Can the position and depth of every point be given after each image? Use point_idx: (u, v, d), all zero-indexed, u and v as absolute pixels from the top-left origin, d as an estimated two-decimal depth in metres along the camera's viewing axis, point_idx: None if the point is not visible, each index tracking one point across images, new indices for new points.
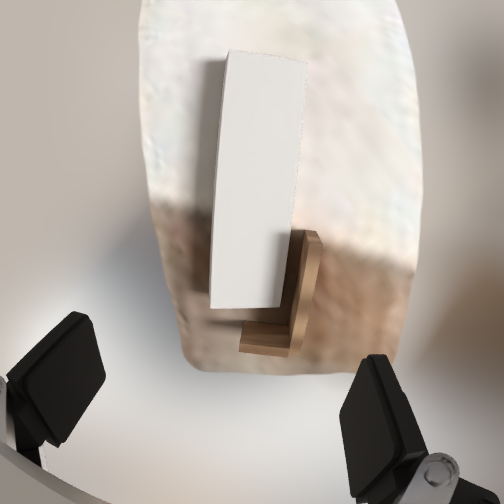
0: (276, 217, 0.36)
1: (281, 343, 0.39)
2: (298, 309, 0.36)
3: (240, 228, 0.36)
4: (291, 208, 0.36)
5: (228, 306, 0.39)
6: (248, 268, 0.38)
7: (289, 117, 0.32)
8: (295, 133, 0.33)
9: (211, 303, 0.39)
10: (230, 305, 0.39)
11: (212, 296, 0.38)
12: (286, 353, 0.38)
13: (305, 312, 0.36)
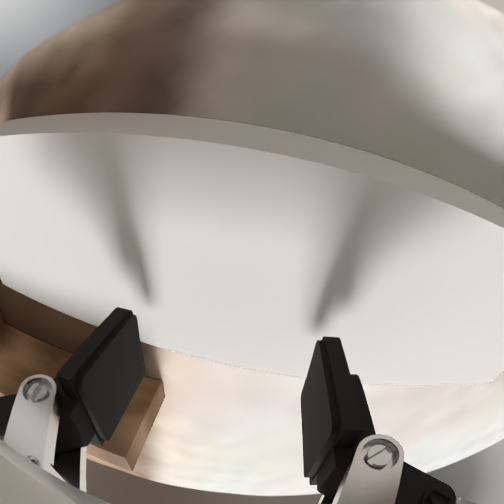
0: (168, 324, 0.12)
1: None
2: None
3: (122, 228, 0.09)
4: (197, 355, 0.13)
5: None
6: (33, 235, 0.10)
7: (425, 369, 0.12)
8: (386, 377, 0.12)
9: None
10: None
11: None
12: None
13: None
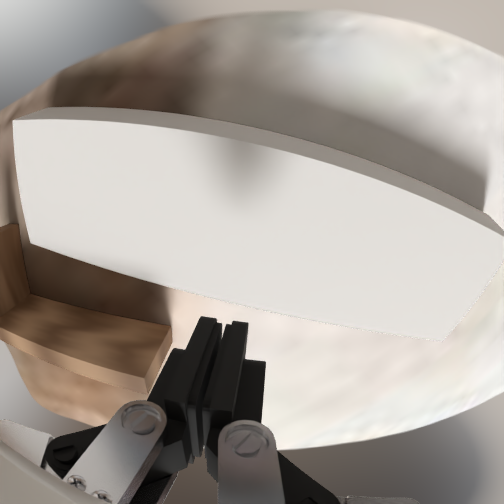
0: (175, 264, 0.17)
1: None
2: (39, 345, 0.15)
3: (152, 189, 0.14)
4: (194, 291, 0.18)
5: (17, 155, 0.13)
6: (75, 196, 0.15)
7: (374, 313, 0.17)
8: (342, 317, 0.18)
9: (19, 121, 0.12)
10: (18, 158, 0.13)
11: (28, 123, 0.12)
12: None
13: (40, 354, 0.16)
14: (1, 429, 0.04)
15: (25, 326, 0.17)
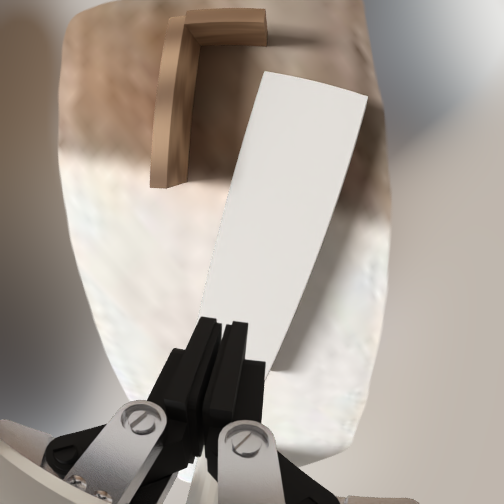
0: (246, 202, 0.27)
1: (199, 27, 0.19)
2: (173, 87, 0.20)
3: (296, 202, 0.25)
4: (226, 209, 0.28)
5: (339, 91, 0.21)
6: (299, 140, 0.24)
7: (213, 313, 0.31)
8: (209, 295, 0.31)
9: (364, 103, 0.21)
10: (337, 92, 0.22)
11: (360, 114, 0.21)
12: (188, 16, 0.18)
13: (163, 84, 0.20)
14: (1, 429, 0.04)
15: (183, 62, 0.21)
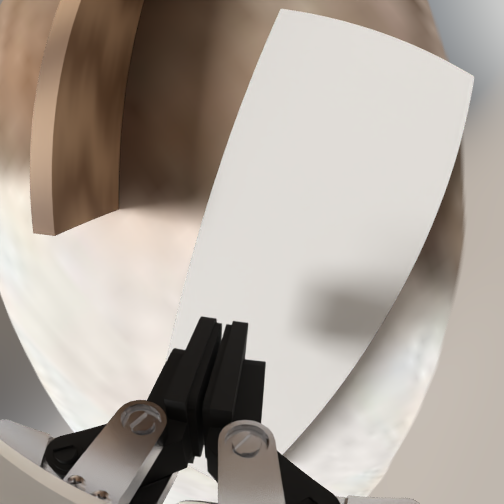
0: (231, 257, 0.14)
1: None
2: (67, 37, 0.07)
3: (332, 268, 0.12)
4: (192, 266, 0.15)
5: (426, 57, 0.09)
6: (348, 141, 0.11)
7: None
8: None
9: (469, 88, 0.08)
10: (422, 57, 0.09)
11: (464, 105, 0.09)
12: None
13: (54, 37, 0.07)
14: (1, 429, 0.04)
15: None
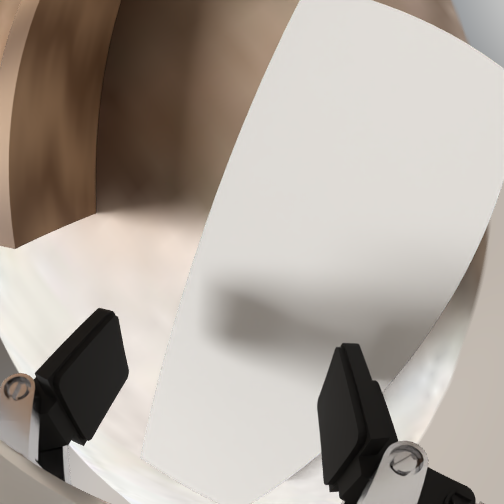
0: (237, 278, 0.11)
1: None
2: (31, 18, 0.05)
3: (359, 297, 0.10)
4: (189, 284, 0.12)
5: (475, 56, 0.06)
6: (388, 144, 0.08)
7: (170, 432, 0.16)
8: (162, 410, 0.15)
9: None
10: (471, 55, 0.06)
11: None
12: None
13: (19, 20, 0.05)
14: None
15: None
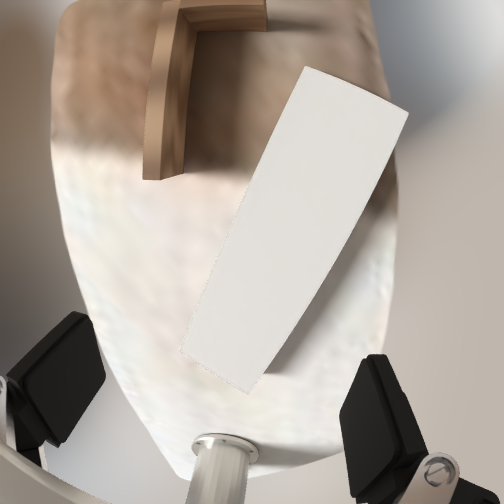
0: (265, 201, 0.25)
1: (195, 11, 0.17)
2: (166, 73, 0.18)
3: (319, 209, 0.24)
4: (242, 205, 0.26)
5: (381, 102, 0.20)
6: (332, 145, 0.22)
7: (212, 310, 0.30)
8: (210, 291, 0.29)
9: (404, 119, 0.19)
10: (378, 102, 0.20)
11: (398, 129, 0.20)
12: (183, 0, 0.16)
13: (156, 70, 0.18)
14: None
15: (177, 47, 0.19)
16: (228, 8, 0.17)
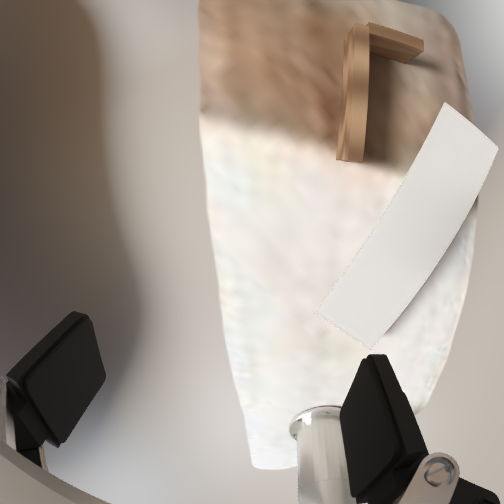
0: (416, 189, 0.30)
1: (375, 38, 0.23)
2: (367, 82, 0.24)
3: (449, 200, 0.29)
4: (400, 189, 0.31)
5: (485, 138, 0.25)
6: (458, 159, 0.27)
7: (360, 271, 0.34)
8: (363, 255, 0.34)
9: (496, 151, 0.25)
10: (483, 137, 0.25)
11: (493, 157, 0.25)
12: (371, 27, 0.21)
13: (359, 77, 0.24)
14: None
15: None
16: (400, 45, 0.22)
